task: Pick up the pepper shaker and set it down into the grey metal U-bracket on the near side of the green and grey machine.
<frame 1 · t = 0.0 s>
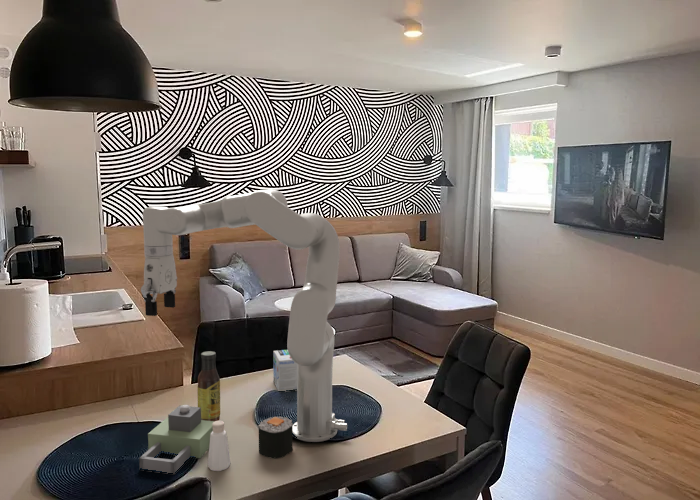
hand: (160, 311, 156), 31 cm above the table, tool pointing down, fingers open, 9 cm apart
pepper shaker: (219, 466, 133), on the table
sushi: (275, 451, 141), on the table
sauce bottle: (209, 421, 157), on the table
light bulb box: (285, 386, 184), on the table
green and grey machine: (183, 445, 143), on the table
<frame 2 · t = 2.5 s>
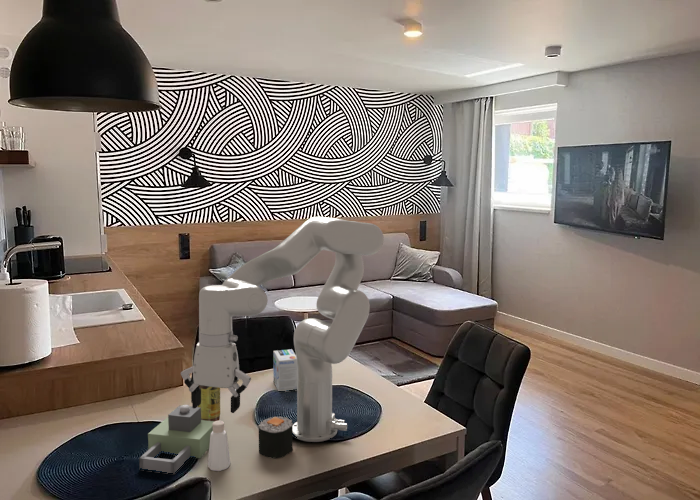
hand: (215, 408, 131), 15 cm above the table, tool pointing down, fingers open, 9 cm apart
nothing on the table moved.
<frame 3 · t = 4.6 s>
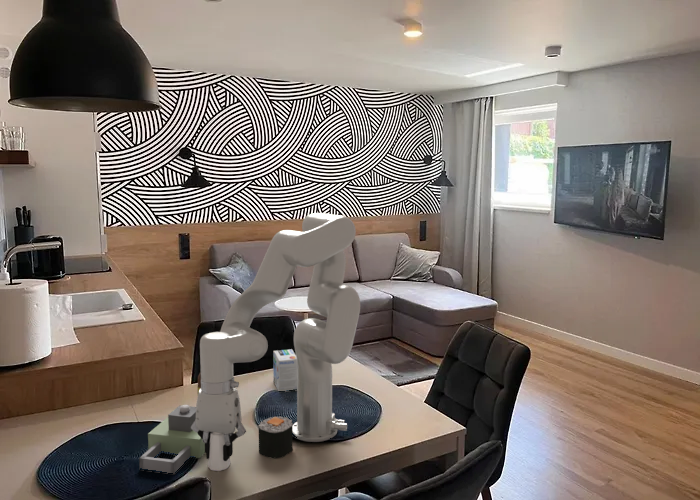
hand: (218, 456, 133), 2 cm above the table, tool pointing down, fingers closed on pepper shaker, 3 cm apart
pepper shaker: (219, 466, 133), on the table, touching gripper
everything else where it was.
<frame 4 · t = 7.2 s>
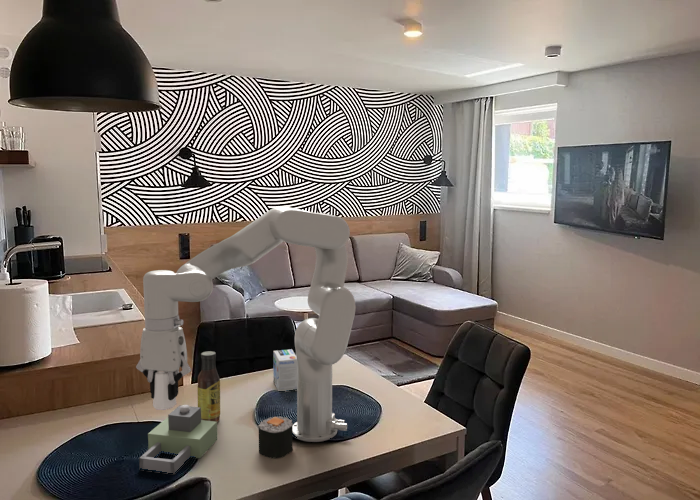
hand: (164, 396, 132), 17 cm above the table, tool pointing down, fingers closed on pepper shaker, 3 cm apart
pepper shaker: (164, 406, 132), point 14 cm above the table, touching gripper
everything else where it was.
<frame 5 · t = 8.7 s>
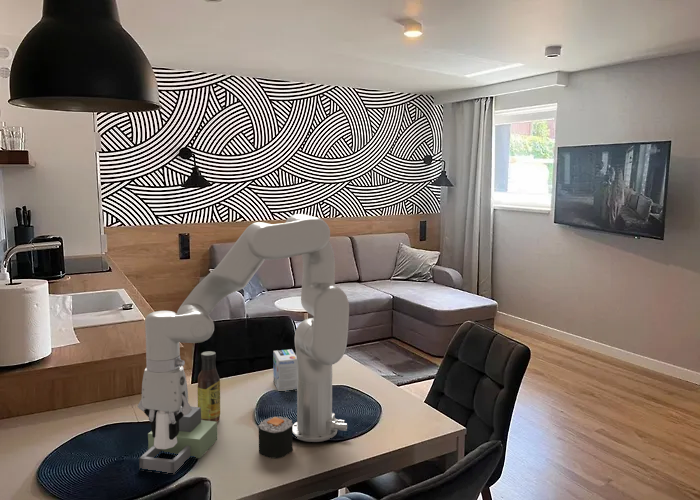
hand: (165, 435, 133), 7 cm above the table, tool pointing down, fingers closed on pepper shaker, 3 cm apart
pepper shaker: (165, 445, 134), point 5 cm above the table, touching gripper
everything else where it was.
when the fingers open (4 cm above the table, at t = 10.0 s): pepper shaker drops 2 cm, resting in green and grey machine.
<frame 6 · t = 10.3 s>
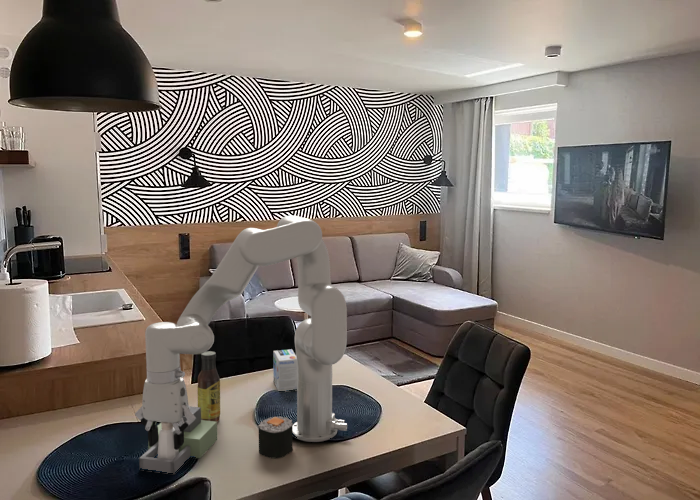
hand: (166, 444, 134), 5 cm above the table, tool pointing down, fingers open, 6 cm apart
pepper shaker: (168, 463, 134), resting in green and grey machine
everything else where it was.
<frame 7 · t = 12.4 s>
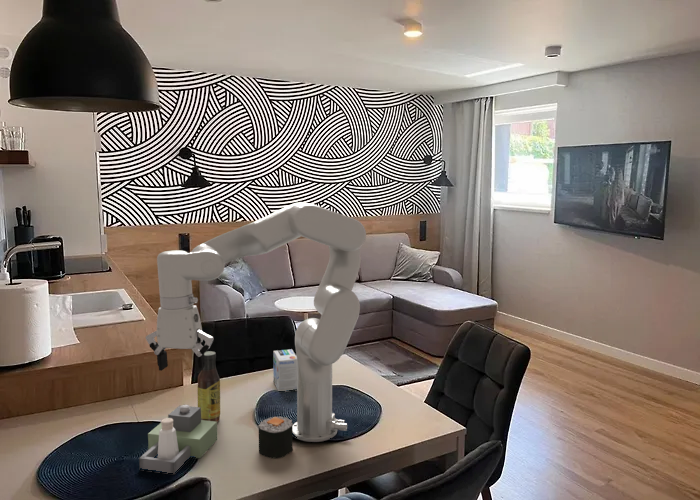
hand: (181, 369, 135), 22 cm above the table, tool pointing down, fingers open, 9 cm apart
nothing on the table moved.
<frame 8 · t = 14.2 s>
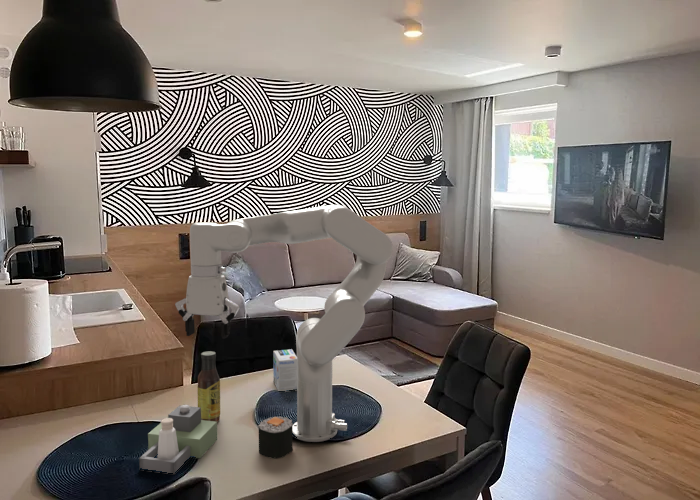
hand: (207, 335, 143), 28 cm above the table, tool pointing down, fingers open, 9 cm apart
nothing on the table moved.
at the end: pepper shaker 0.4 cm from the target spot on the green and grey machine, point 0.0 cm above the green and grey machine's base; pepper shaker tilted 0°; the gripper is holding nothing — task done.
